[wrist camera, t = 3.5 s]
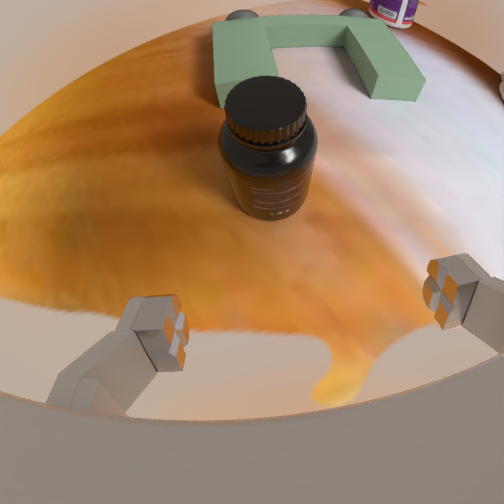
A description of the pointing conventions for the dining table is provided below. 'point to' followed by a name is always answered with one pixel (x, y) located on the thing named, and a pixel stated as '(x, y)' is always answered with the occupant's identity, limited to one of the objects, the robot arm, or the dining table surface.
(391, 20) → the pill bottle
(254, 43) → the green u-shaped block
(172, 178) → the dining table surface
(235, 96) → the supplement bottle
